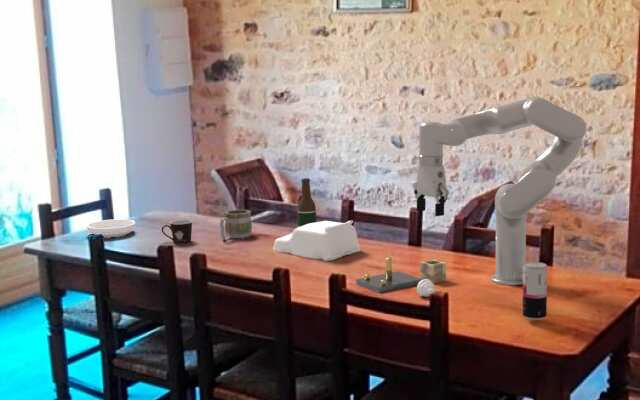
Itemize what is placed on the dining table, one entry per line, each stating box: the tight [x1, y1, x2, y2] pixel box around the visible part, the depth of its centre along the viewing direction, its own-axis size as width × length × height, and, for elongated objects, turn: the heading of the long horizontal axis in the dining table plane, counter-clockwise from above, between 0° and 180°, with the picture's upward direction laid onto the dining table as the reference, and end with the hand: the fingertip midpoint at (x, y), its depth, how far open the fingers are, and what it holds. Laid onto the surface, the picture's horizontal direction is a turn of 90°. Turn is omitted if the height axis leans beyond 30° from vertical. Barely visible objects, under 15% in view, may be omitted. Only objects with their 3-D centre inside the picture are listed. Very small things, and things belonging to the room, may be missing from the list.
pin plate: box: [355, 257, 422, 293], centre depth 294 cm, size 13×17×9 cm
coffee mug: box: [161, 219, 193, 244], centre depth 360 cm, size 12×9×10 cm
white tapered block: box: [272, 219, 361, 262], centre depth 339 cm, size 19×30×13 cm, turn 49°
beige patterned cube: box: [419, 259, 447, 284], centre depth 297 cm, size 6×6×6 cm
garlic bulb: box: [416, 279, 436, 298], centre depth 278 cm, size 6×6×5 cm
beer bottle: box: [297, 177, 317, 228], centre depth 369 cm, size 8×8×24 cm
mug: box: [219, 209, 253, 241], centre depth 364 cm, size 16×11×12 cm
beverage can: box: [522, 261, 548, 320], centre depth 255 cm, size 6×6×15 cm
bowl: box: [86, 218, 136, 239], centre depth 375 cm, size 20×20×7 cm
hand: (430, 213), depth 294 cm, fingers open, 9 cm apart
